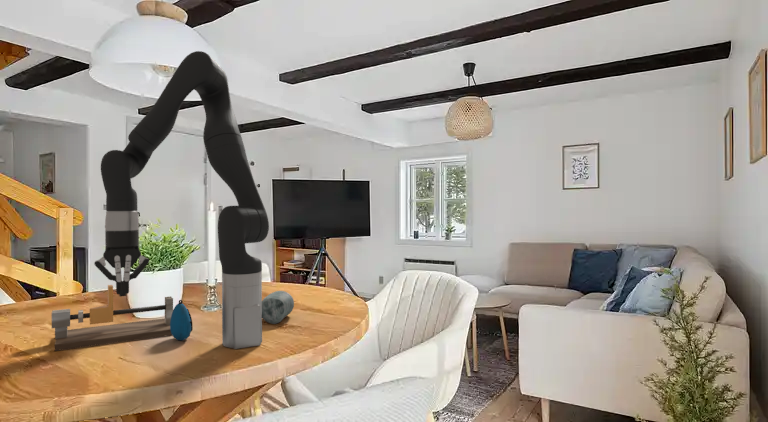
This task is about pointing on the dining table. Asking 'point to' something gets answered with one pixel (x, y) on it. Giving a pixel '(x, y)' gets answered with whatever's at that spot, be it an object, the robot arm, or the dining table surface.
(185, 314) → the ornament
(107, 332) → the wooden bar clamp
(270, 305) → the grey textured cylinder
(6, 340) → the dining table surface
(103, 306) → the l-shaped tan slider
